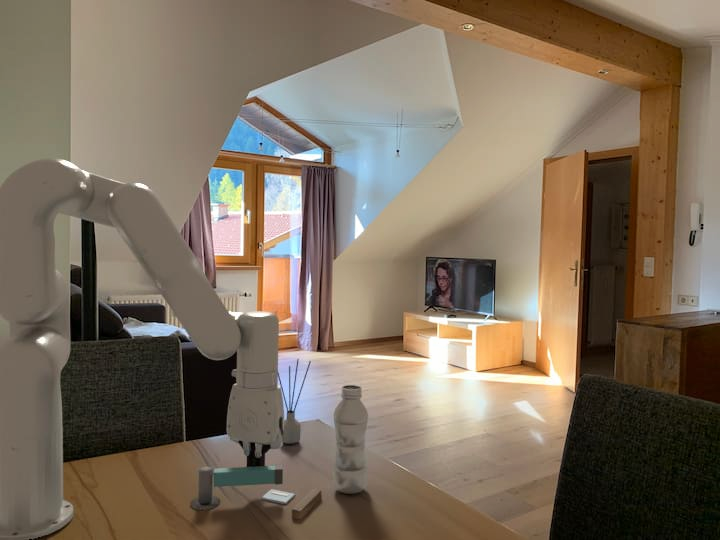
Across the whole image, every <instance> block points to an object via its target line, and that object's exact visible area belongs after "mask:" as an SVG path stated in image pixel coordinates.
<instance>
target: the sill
mask: <svg viewBox="0 0 720 540" xmlns="http://www.w3.org/2000/svg"><path fill="white" fill-rule="evenodd" d="M321 499H322V489H318V488H312V489H311V490H310V491H309V492H308V493H307V494H306V495H305V496H304V497H303V498H302V499H301V500H300V501H299V502H297V504H296V505H295V506H293V508H292V509H291V518H292V519H296V520H301V519H303V517H305V515H306V514H307V513H308V512H309V511H311V509H313V507H315V505H316V504H317V503H318V502H319V501H320V500H321Z"/></svg>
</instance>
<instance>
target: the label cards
mask: <svg viewBox="0 0 720 540" xmlns="http://www.w3.org/2000/svg"><path fill="white" fill-rule="evenodd" d="M295 496H296V493H293V492H288V491H282V490H279V489H272V488H271V489H269V490H268V491H267V492H266V493H265V494H263V495H262V496H261V500H263V501H267V502H272V503H277V504H282V505H287V504H288V503H289V502H290V501H291V500H292V499H294V498H295Z"/></svg>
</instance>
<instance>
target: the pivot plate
mask: <svg viewBox="0 0 720 540" xmlns="http://www.w3.org/2000/svg"><path fill="white" fill-rule="evenodd" d="M220 504H221V498H220V497H218V496H216V495H212V501H211V502H209V503H205V504H202V503H199V502H198V496H197V497H195V498H193V499H191V501H190V508H192V509H194V510H195V511H197V510H198V511H207V510H212V509H214V508H217V507H218V506H219V505H220Z"/></svg>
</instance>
